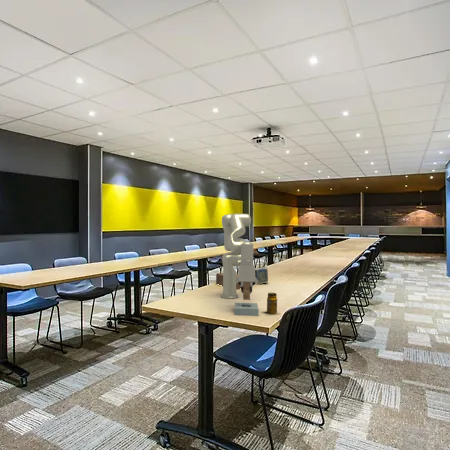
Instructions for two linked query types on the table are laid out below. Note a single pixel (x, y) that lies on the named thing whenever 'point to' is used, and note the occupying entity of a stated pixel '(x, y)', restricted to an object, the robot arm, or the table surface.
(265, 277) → the radio
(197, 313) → the table surface
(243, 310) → the socket block
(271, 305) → the condiment
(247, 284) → the peg
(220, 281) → the tissue box cover
